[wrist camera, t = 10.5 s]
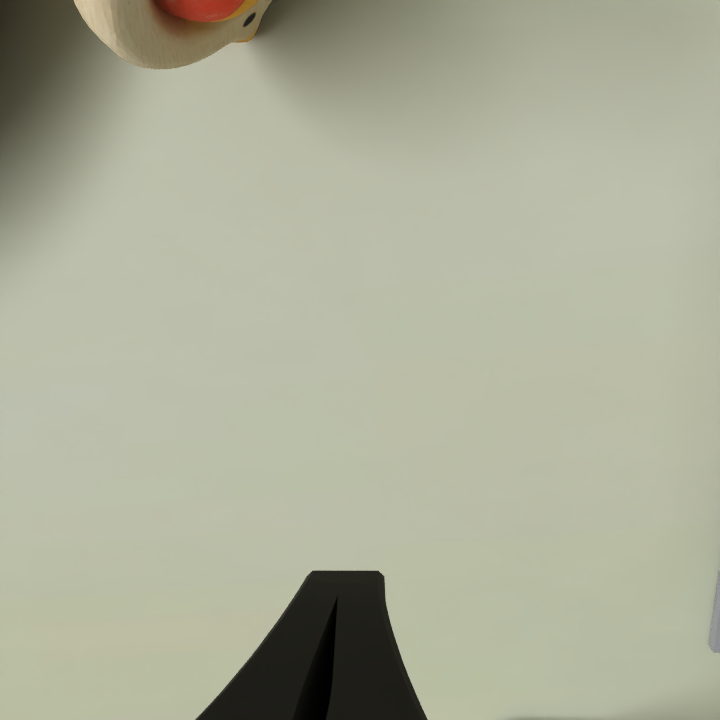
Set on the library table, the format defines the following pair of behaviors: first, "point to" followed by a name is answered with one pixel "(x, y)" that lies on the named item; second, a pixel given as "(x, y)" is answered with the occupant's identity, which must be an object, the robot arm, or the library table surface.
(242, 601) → the library table surface
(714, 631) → the felt mat
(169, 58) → the bird rattle
